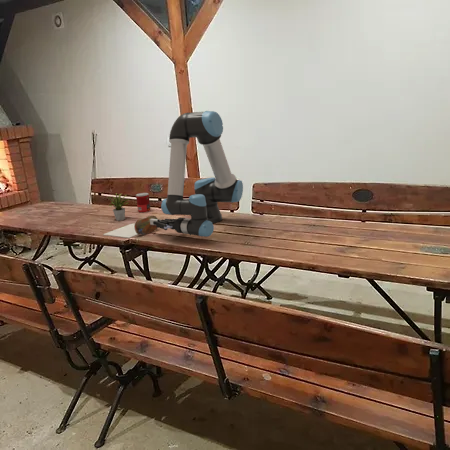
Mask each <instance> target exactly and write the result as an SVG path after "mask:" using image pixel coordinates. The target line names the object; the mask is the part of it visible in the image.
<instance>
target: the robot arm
mask: <svg viewBox="0 0 450 450" xmlns="http://www.w3.org/2000/svg"><path fill="white" fill-rule="evenodd" d="M223 125H224V123H223V119H222V116H221V115H220V114H219V113H218V112H216V111H214V110H205V111H193V112H185V113H183V114H180V115H179V116H178V117H177V118H176V119H175V121H174V123H173V125H172V127H171V128H170V132H169V137H168V138H169V139H168V141H169V144H170V152H169V153H170V155H169V168H168V169H169V171H168V180H167V181H168V182H167V183H168V184H167V196H166V198H165V199H162V201H161V204H160V205H161V207H160V209H161V211H162V213H163V214H165V215H171V216H174V215H176V216H177V215H178V216H190V217H191V218H187V217H186V218H185V217H178V218H165V219H160V218H159V219H158V218H157V219H150V224H151V225H156V227H158V228H157V229H161V230H164V231H167V230H168V229H170V230H174V231H175V232H176V233H178V234H185V235H189V236H198V237H208V238H209V237H210V236H211V235H212V234H213V233H214V229H215V227H214V226H215V225H214V224H215V223H218V222H221V221H222V220H223V216H222V213H221V210H220V208H219V206H218V203H238V202H240V201H241V200H242V197H243V192H244V186H243V185H244V184H243V181H242V180H240V179H237V177H236V175H235V174H234V173H232V172H231V168H230V166H229V162H228V158H227V157H226V153H225V151H224V148H223V144H222V142H221V140H220V139H221V137H222V134H223V131H224V126H223ZM191 138H196V139H197V142H198V143H199V144H200V145H202V146H203V149H204V151H205V154H206V156H207V160H208V163H209V164H210V168H211V170H212V173H213V175H214V177H207V178H206V177H205V178H201V179H198V180H196V181H194V185H193V186H194V194H191V195H190V196H189V197H188V198H184V187H185V174H186V162H187V149H188V147H187V146H188V145H189V144H190V139H191Z"/></svg>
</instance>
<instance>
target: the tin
mask: <svg viewBox="0 0 450 450" xmlns="http://www.w3.org/2000/svg"><path fill="white" fill-rule="evenodd" d="M150 219H158V217H157V216H155V215H148V216H144V217H142V218H139V219H137V220H136V221H135V222H134V224H135V226H134V227H135V231H136V233H137V234H139V235H140V236H145V235H149V234H151V233H153V232H155V231H157V229H159V228H158V227H156V225H151V224H150ZM139 235H138V236H139Z"/></svg>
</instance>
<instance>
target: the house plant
mask: <svg viewBox="0 0 450 450" xmlns="http://www.w3.org/2000/svg"><path fill="white" fill-rule="evenodd" d="M122 194H123V193H119V194H118V193H117V192H116V193H115V196H113V195H111V197H112V198H111V197H110V196H108V197H107V199H109V200H110V201H111V202H110V204H109V205H108V207H109V208H114V209H113V210H112V212H113V216H114V218H115V220H116V221H124V220H125V219H126V208H125V207H124V205H125V204H128V202H127V201H129V200H131V199H130V198H126V199H125V197H127V194H125V195H124V196H122Z"/></svg>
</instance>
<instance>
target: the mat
mask: <svg viewBox="0 0 450 450" xmlns="http://www.w3.org/2000/svg"><path fill="white" fill-rule="evenodd" d="M134 226H135V223H129V224H126V225H125V226H122V227H120V228H119V227H118V228H116V229H114V230H110V231H108V232H105V233H103V234H102V235H103V236H107V237H115V238H123V239H132V238H133V237H136V236H139V234H137V233H136V231H135V227H134Z"/></svg>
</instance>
